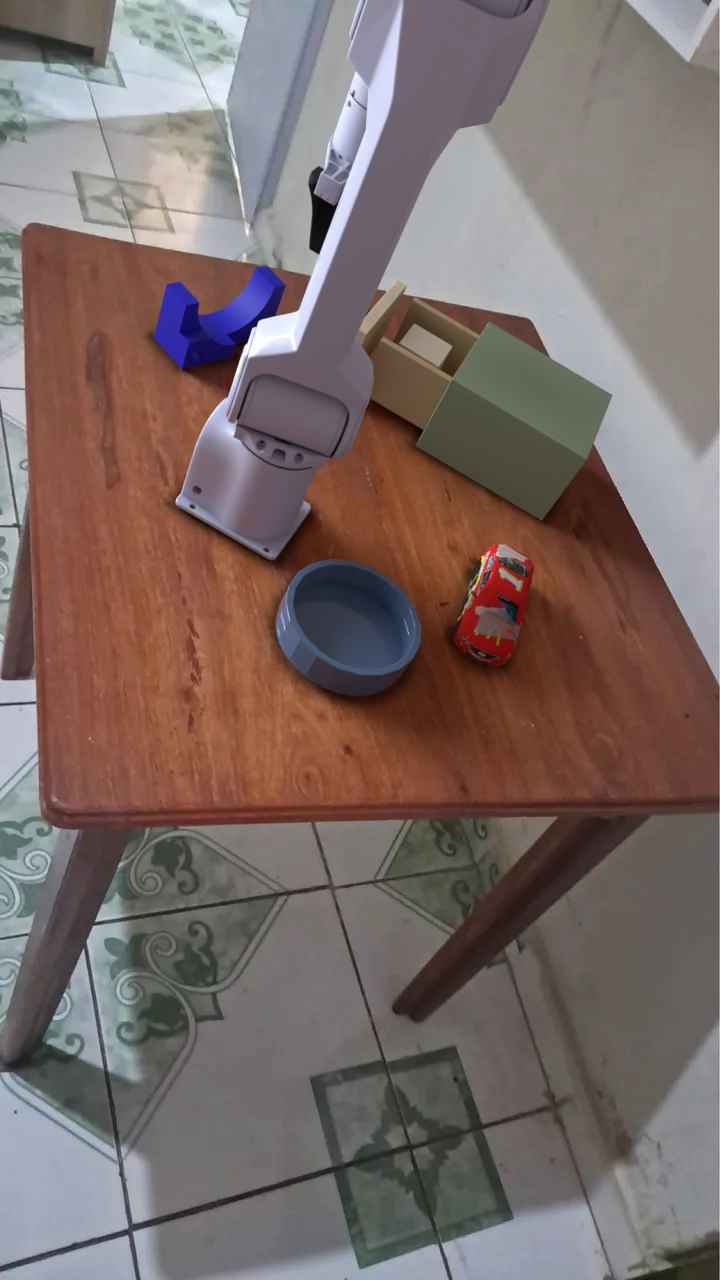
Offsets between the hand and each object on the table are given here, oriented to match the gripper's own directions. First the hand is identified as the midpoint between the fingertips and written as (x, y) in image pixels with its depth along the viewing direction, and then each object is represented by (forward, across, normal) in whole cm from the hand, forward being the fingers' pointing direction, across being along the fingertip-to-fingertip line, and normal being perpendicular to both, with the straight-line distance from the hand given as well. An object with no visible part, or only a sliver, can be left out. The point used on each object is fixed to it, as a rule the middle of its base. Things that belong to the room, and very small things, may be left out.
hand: (328, 244), depth 91 cm
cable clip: (+11, -8, +5) cm, 14 cm away
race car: (+11, -22, -30) cm, 39 cm away
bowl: (+10, -33, -20) cm, 40 cm away
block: (+8, 0, -13) cm, 15 cm away
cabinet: (+10, 0, -24) cm, 26 cm away
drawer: (+9, 0, -11) cm, 15 cm away
